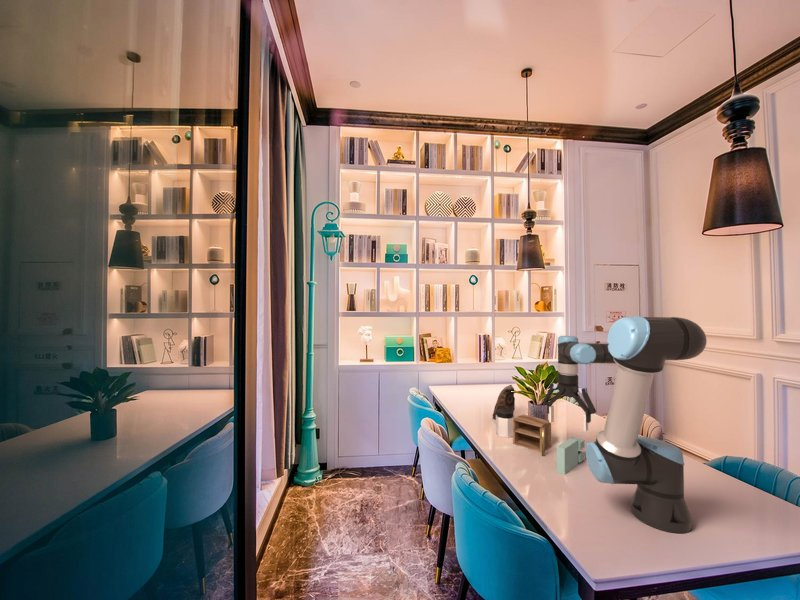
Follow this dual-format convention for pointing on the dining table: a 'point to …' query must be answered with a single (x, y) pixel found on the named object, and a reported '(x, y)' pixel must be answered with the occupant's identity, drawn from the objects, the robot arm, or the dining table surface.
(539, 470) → the dining table surface
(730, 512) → the dining table surface
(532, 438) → the cabinet
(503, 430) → the jar
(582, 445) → the door
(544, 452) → the hinge pin
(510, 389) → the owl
